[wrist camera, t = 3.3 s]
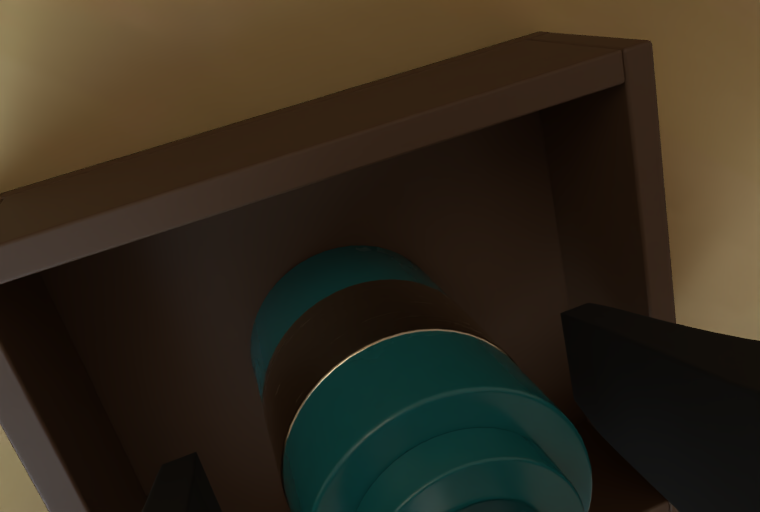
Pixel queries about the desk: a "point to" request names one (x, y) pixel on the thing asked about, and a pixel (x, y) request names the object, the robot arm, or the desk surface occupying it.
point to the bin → (318, 234)
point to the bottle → (402, 398)
